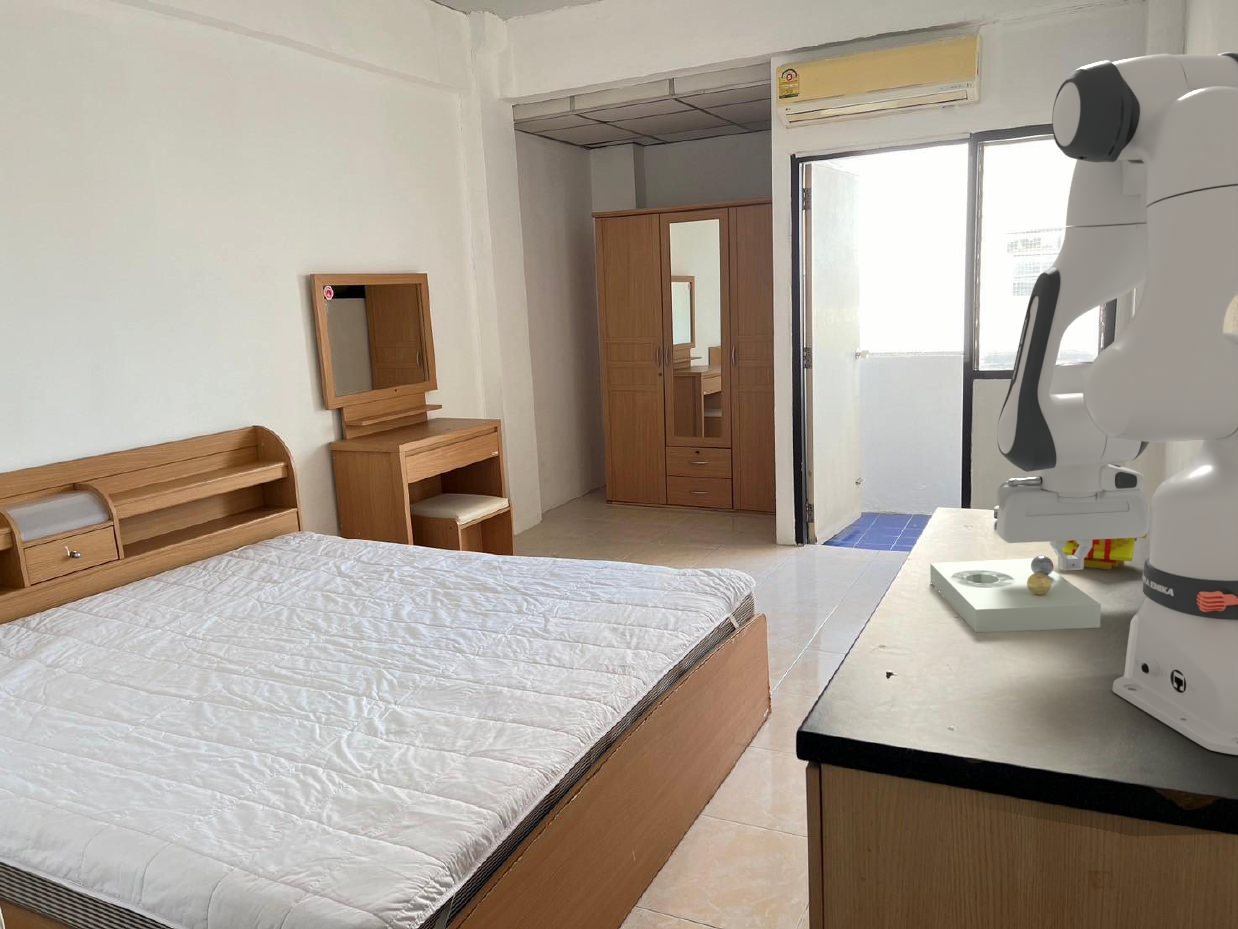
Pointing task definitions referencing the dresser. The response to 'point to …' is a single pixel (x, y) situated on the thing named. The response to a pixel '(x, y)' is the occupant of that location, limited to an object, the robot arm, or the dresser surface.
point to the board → (1012, 597)
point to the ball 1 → (1042, 565)
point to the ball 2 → (1039, 583)
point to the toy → (1105, 551)
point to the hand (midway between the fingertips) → (1070, 568)
